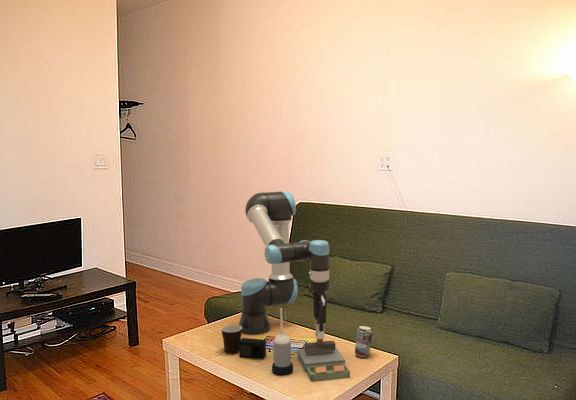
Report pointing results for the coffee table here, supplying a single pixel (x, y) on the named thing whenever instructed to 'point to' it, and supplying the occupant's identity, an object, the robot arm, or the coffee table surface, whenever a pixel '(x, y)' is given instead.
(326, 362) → the grey flat block
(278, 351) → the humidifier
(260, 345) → the digital camera
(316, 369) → the tile
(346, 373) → the box
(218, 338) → the coffee table surface
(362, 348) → the beverage can
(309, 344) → the scraper
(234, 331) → the coffee mug
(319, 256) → the robot arm
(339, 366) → the tile
